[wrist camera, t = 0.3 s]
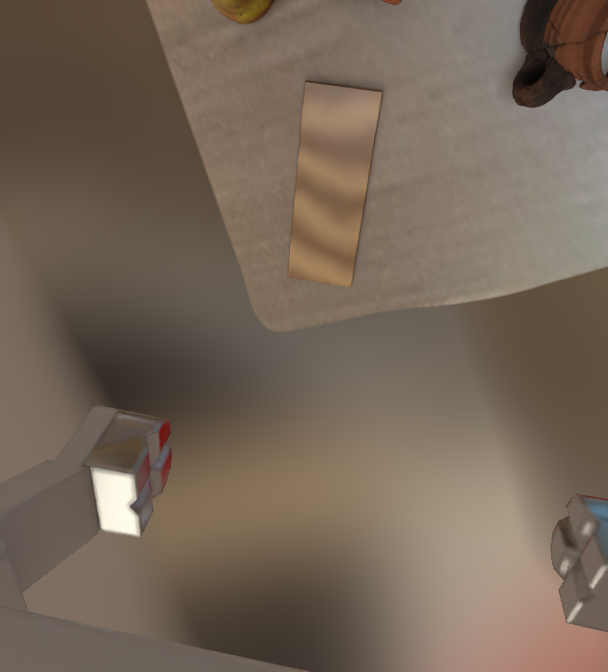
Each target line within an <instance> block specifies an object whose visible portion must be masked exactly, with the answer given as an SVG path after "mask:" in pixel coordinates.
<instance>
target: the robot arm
mask: <svg viewBox="0 0 608 672" xmlns="http://www.w3.org/2000/svg"><path fill="white" fill-rule="evenodd" d="M169 435H170V422H169V421H168V420H167V419H164V418H159V417H154V416H150V415H145V414H140V413H135V412H130V411H126V410H118V409H113V408H109V407H104V406H99V405H98V406H96V407H94V408H93V409H91V411H90V412H89V413H88V415H87V416H86V418H85V419H84V420H83V422H82V423H81V425H80V426H79V427H78V429H77V430H76V432H75V433H74V434H73V436H72V437H71V439H70V440H69V442H68V443H67V444H66V446H65V447H64V449H63V450H62V451H61V453H60V454H59V456H58V457H57V459H56V460H55V461H52V460H46V461H45V462H43V463H40V464H38V465H37V466H34V467H33V468H31V469H29V470H27V471H25V472H23V473H21V474H19V475H17V476H15V477H13V478H11V479H9V480H7V481H5V482H3V483H1V484H0V672H308V671H304V670H299V669H295V668H290V667H285V666H281V665H276V664H271V663H266V662H262V661H257V660H252V659H247V658H243V657H238V656H233V655H229V654H224V653H220V652H215V651H210V650H205V649H201V648H196V647H191V646H186V645H182V644H177V643H173V642H168V641H163V640H158V639H154V638H149V637H144V636H140V635H135V634H130V633H126V632H121V631H116V630H112V629H107V628H102V627H97V626H93V625H88V624H83V623H79V622H74V621H69V620H65V619H60V618H55V617H51V616H46V615H41V614H36V613H32V612H28V609H27V606H26V603H25V599H24V596H23V593H22V592H24V591H25V590H26V589H27V588H29V587H30V586H32V585H33V584H34V583H35V582H37V581H38V580H39V579H40V578H42V577H43V576H44V575H46V574H47V573H48V572H50V571H51V570H52V569H53V568H55V567H56V566H57V565H59V564H60V563H61V562H62V561H64V560H65V559H66V558H68V557H69V556H70V555H71V554H73V553H74V552H75V551H77V550H78V549H79V548H80V547H82V546H83V545H84V544H86V543H87V542H88V541H90V540H91V539H92V538H93V537H95V536H96V535H97V534H99V531H105V532H111V533H117V534H123V535H129V536H134V537H141V536H142V534H143V532H144V529H145V527H146V525H147V523H148V521H149V519H150V517H151V514H152V512H153V498H155V497H156V496H157V495H159V494H161V493H162V491H163V489H164V486H165V484H166V482H167V478H168V475H169V471H170V467H171V448H170V447H169V445H168V444H167V443H166V441H167V439H168V437H169ZM566 507H567V511H568V515H569V516H568V517H566V518H564V519H562V520H560V521H558V523H557V525H556V527H555V529H554V531H553V534H552V541H551V559H552V564H553V568H554V570H555V571H556V572H557V573H558V574H559V576H560V577H561V578H562V579H563V580H564V582H563V583H562V585H561V587H560V589H559V594H560V598H561V602H562V606H563V611H564V614H565V619H566V623H570V624H574V625H578V626H583V627H587V628H592V629H596V630H601V631H605V632H608V499H603V498H597V497H591V496H585V495H580V494H576V495H574V496H573V497H571V499H570V501H569V502H568V504H567V506H566Z"/></svg>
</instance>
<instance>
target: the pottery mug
mask: <svg viewBox="0 0 608 672" xmlns="http://www.w3.org/2000/svg"><path fill="white" fill-rule="evenodd" d="M607 32H608V0H528V2H527V4H526V6H525V8H524V12H523V15H522V18H521V23H520V38H521V44H522V45H523V46H524V47H525V49H526V51H527V53H528V54H527V55H526V59H525V62H524V64H523V65H522V67H521V69H520V70H519V72H518V73H517V75H516V76H515V78H514V81H513V90H512V94H513V98H514V99H515V102H516V103H517V104H518V105H520V106H526V107H530V108H535V107H539V106H542V105H544V104H546V103H547V102H549V101H550V100H552V99H553V98H554V97H555V96H556V95H557V94H558V93H560V92H561V91H563V90H569V89H572V88H573V87H574V86H575V84H576V80H575V78H576V79H578V80H582V81H583V82H582V83H581V84H580V86H579V87H580V88H582V89H586V90H593V91H599V90H605V91H608V72H607V74H606V76H605V75H604V74H603V72H602V68H601V53H602V48H603V44H604V41H605V38H606V35H607ZM548 47H555V50H554V52H553V57H551V56H550V54H549V53H548V52H547V50H546V48H548Z"/></svg>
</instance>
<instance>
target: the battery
mask: <svg viewBox="0 0 608 672" xmlns="http://www.w3.org/2000/svg"><path fill="white" fill-rule="evenodd" d="M382 1H384V2H387V3H389V4H392V5H397V4H399V3H400V2H401V1H402V0H382Z"/></svg>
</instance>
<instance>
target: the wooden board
mask: <svg viewBox="0 0 608 672" xmlns="http://www.w3.org/2000/svg"><path fill="white" fill-rule="evenodd" d="M381 97H382V91H380V90H373V89H365V88H358V87H350V86H342V85H335V84H327V83H320V82H312V81H305V88H304V99H303V110H302V121H301V133H300V144H299V155H298V166H297V178H296V189H295V200H294V211H293V223H292V234H291V245H290V256H289V268H288V277H290V278H297V279H303V280H309V281H315V282H322V283H328V284H334V285H340V286H347V287H351V283H352V277H353V271H354V265H355V259H356V252H357V246H358V240H359V234H360V228H361V221H362V215H363V209H364V203H365V196H366V190H367V184H368V178H369V172H370V165H371V159H372V153H373V147H374V141H375V134H376V128H377V122H378V116H379V110H380V103H381Z"/></svg>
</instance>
